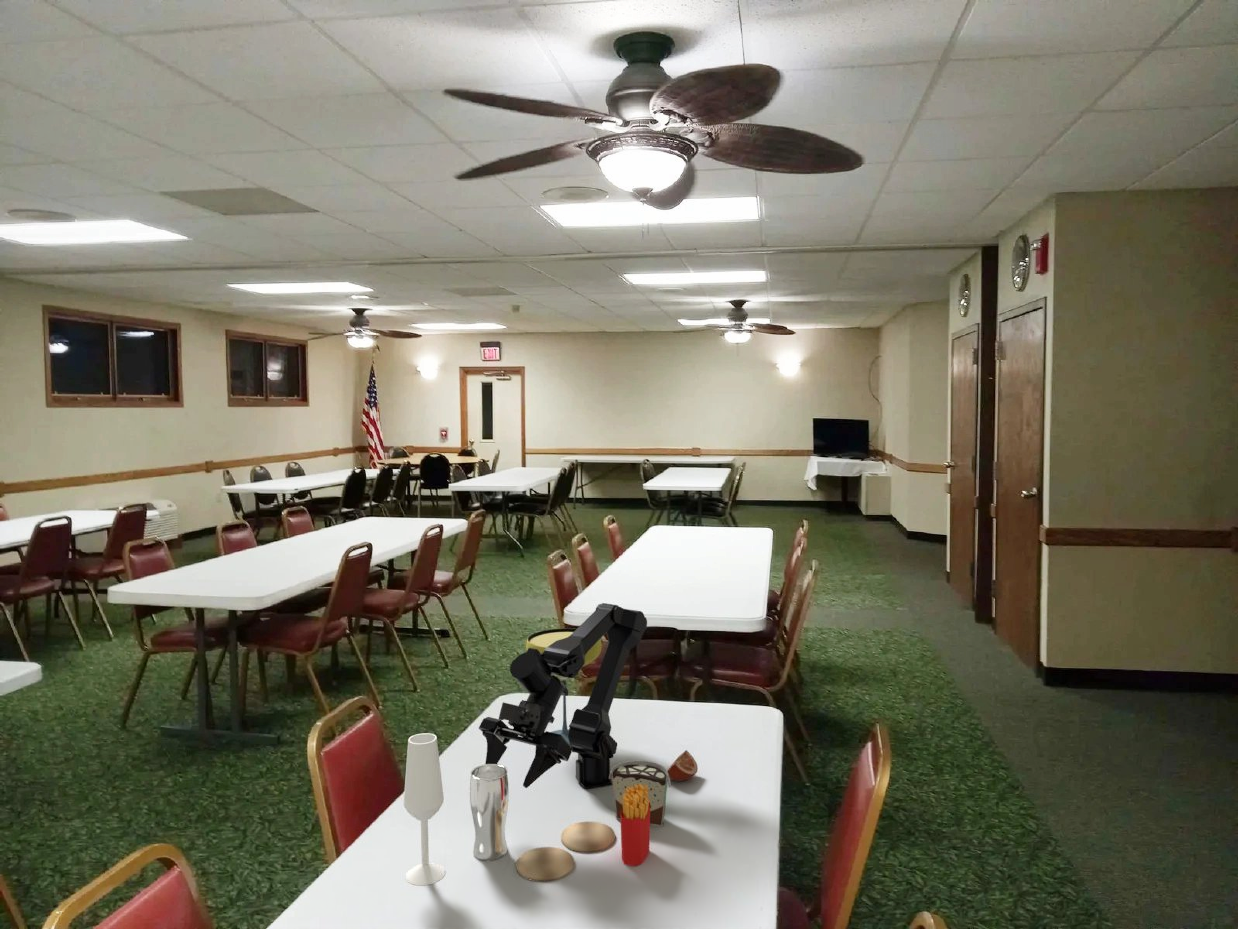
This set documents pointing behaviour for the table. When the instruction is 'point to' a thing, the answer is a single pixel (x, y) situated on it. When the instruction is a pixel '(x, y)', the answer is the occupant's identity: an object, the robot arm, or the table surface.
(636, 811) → the french fries
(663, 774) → the food container
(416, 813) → the champagne flute
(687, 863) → the table surface
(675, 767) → the fruit slice
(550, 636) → the cocktail glass
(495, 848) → the beer glass
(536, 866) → the coaster
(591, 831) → the coaster
